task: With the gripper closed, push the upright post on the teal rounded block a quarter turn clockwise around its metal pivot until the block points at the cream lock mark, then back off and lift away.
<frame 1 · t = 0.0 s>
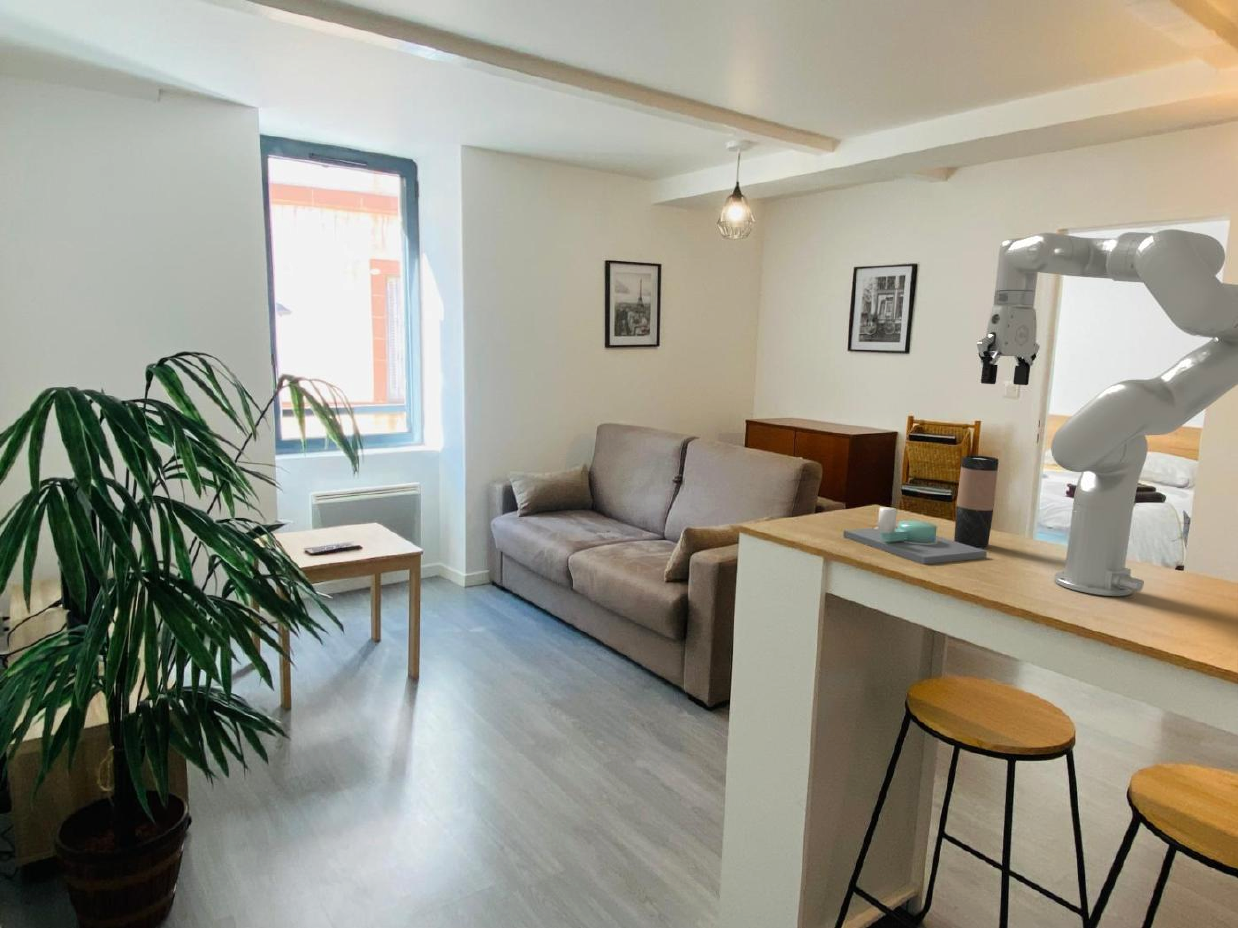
hand: (1004, 384, 163), 37 cm above the table, tool pointing down, fingers open, 9 cm apart
travel mug: (970, 545, 178), on the table
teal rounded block: (906, 523, 171), point 5 cm above the table, hinge at 0.0°
base plate: (911, 546, 173), on the table
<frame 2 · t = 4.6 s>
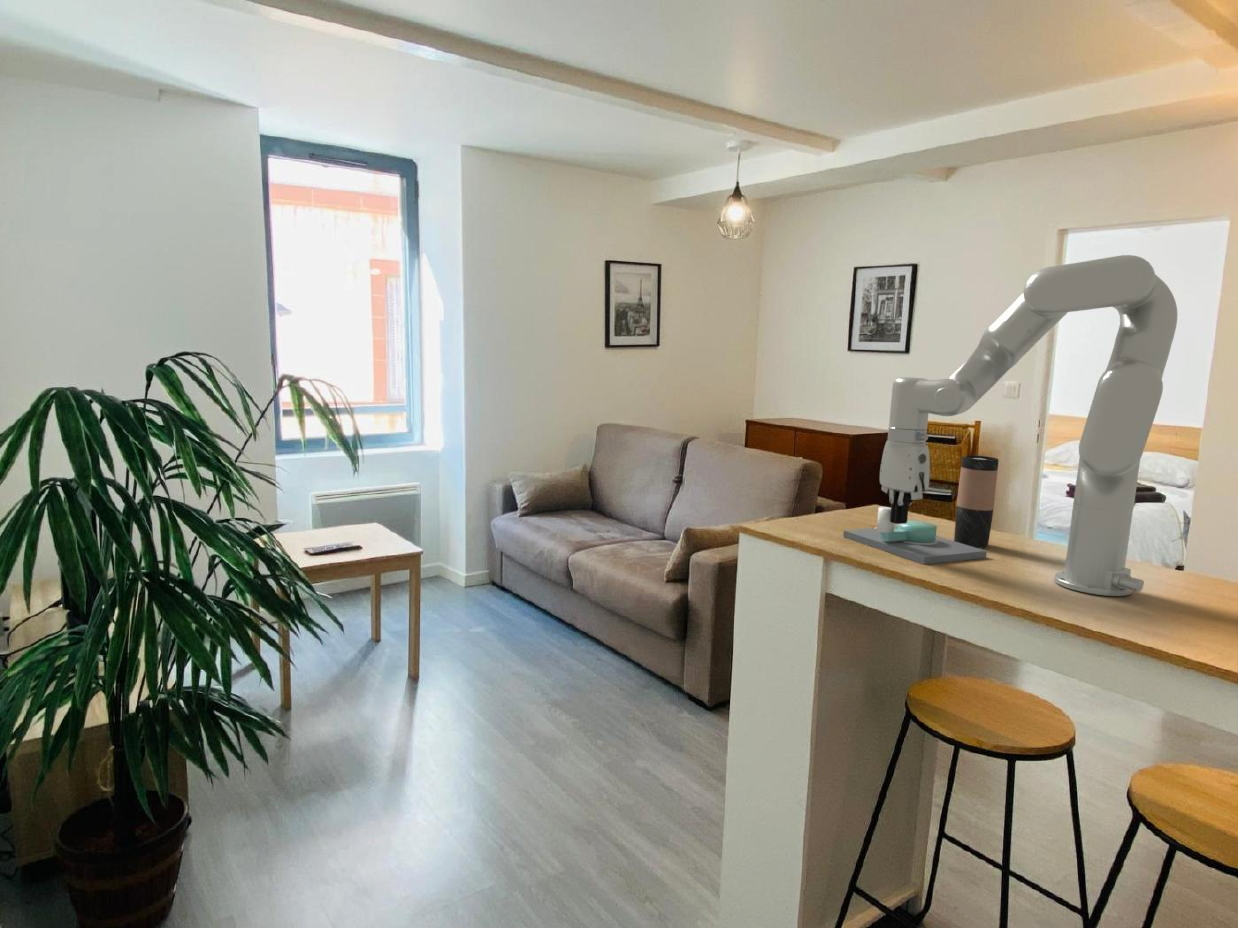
hand: (898, 522, 165), 7 cm above the table, tool pointing down, fingers closed
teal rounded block: (905, 523, 171), point 5 cm above the table, hinge at -1.9°, touching gripper
everything else where it was.
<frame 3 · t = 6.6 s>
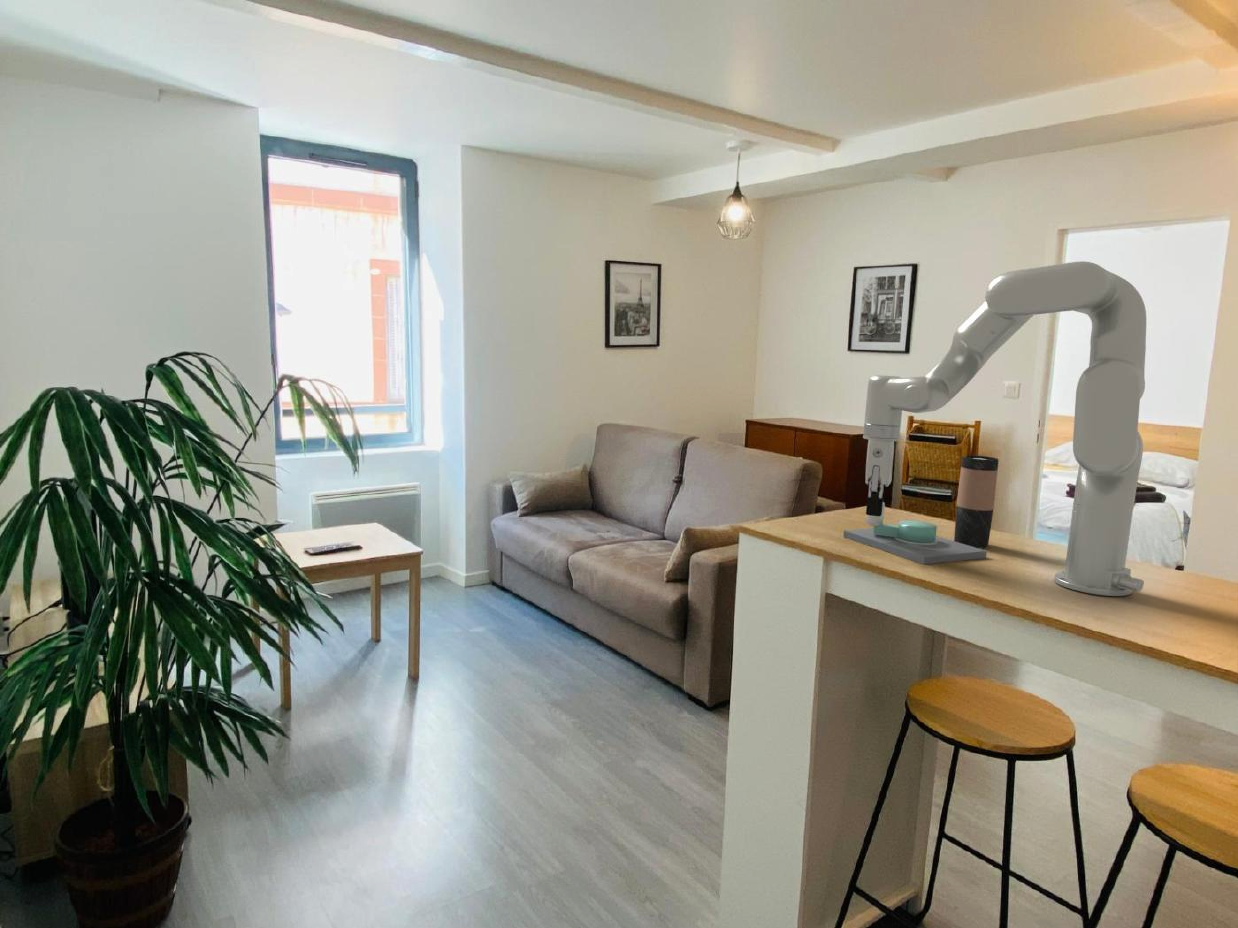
hand: (873, 514, 172), 7 cm above the table, tool pointing down, fingers closed
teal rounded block: (901, 520, 174), point 5 cm above the table, hinge at -47.2°, touching gripper
everything else where it was.
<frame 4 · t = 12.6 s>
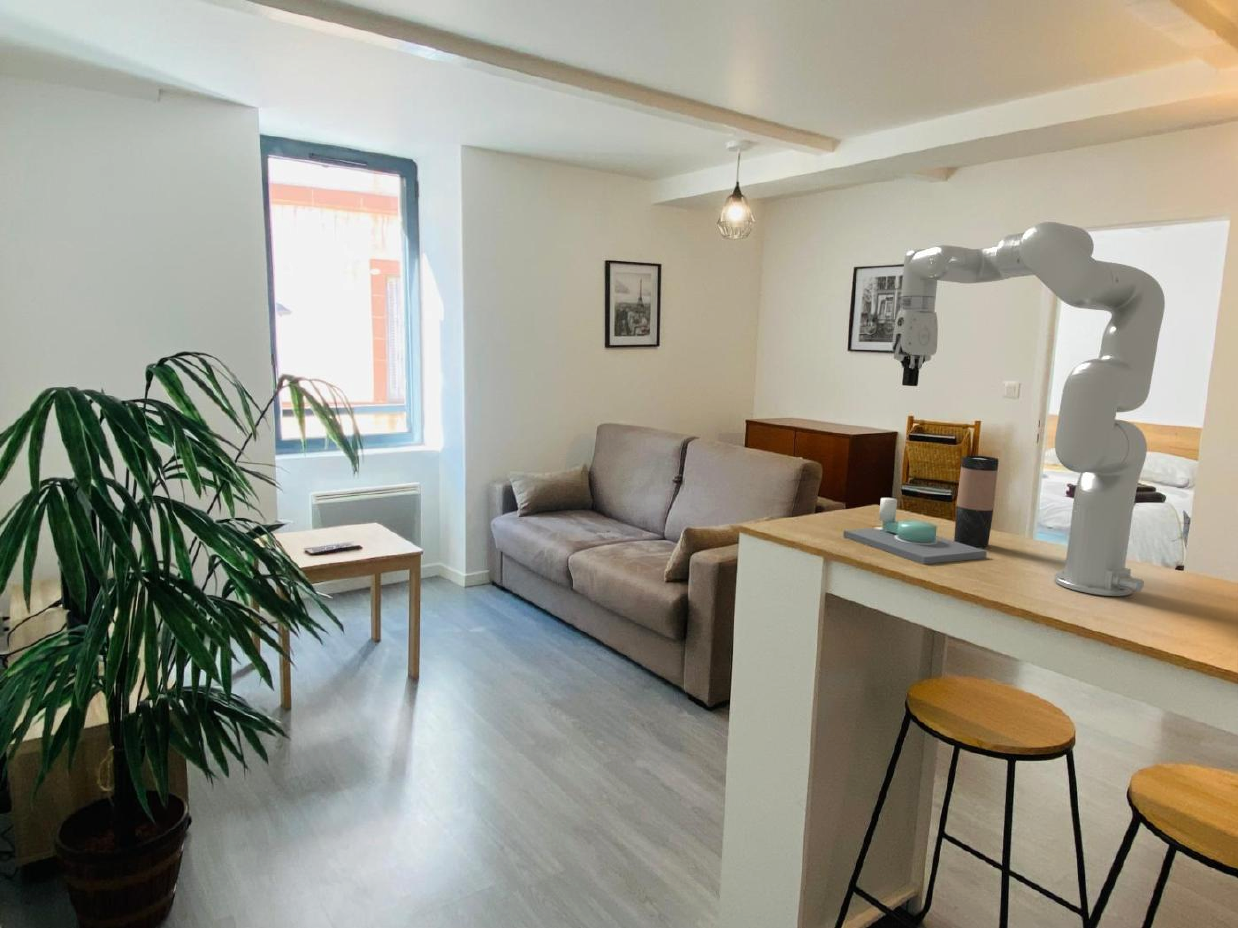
hand: (909, 385, 181), 35 cm above the table, tool pointing down, fingers closed
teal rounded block: (905, 519, 175), point 5 cm above the table, hinge at -89.4°
everything else where it was.
at the end: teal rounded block at -89° (first picture: +0°); travel mug moved 0.2 cm from its start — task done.
